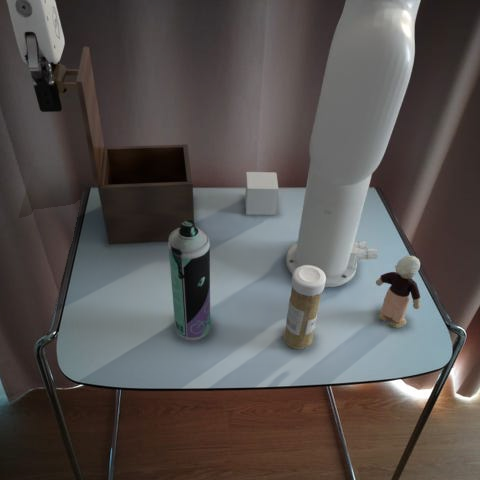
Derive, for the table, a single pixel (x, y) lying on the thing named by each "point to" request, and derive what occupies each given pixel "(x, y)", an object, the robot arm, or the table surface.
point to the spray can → (190, 280)
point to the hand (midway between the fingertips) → (54, 100)
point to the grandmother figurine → (400, 291)
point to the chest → (145, 192)
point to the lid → (85, 107)
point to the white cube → (261, 193)
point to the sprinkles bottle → (303, 305)
